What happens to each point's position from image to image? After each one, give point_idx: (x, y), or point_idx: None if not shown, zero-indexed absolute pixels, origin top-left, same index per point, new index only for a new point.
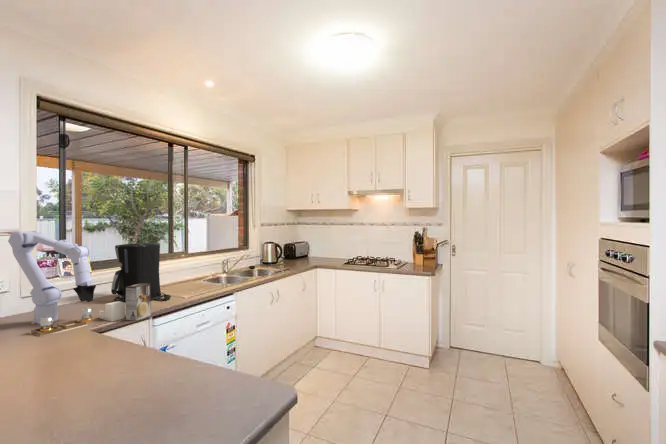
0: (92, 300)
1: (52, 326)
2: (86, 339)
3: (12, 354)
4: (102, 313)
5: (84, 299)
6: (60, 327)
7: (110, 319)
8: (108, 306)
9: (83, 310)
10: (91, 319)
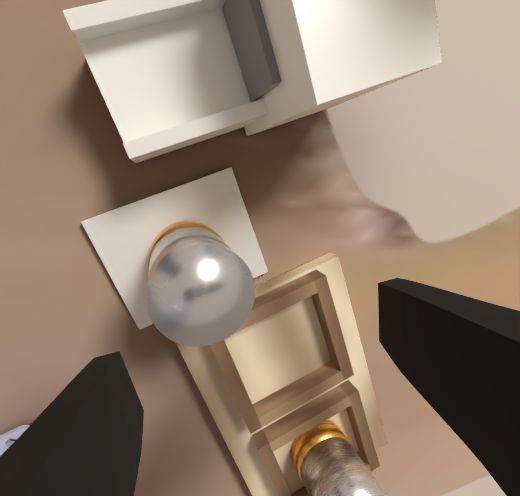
0: (404, 283)
1: (345, 444)
2: (512, 270)
3: (473, 469)
4: (194, 139)
5: (121, 395)
6: (346, 400)
7: (322, 109)
8: (370, 88)
9: (239, 324)
10: (215, 232)
